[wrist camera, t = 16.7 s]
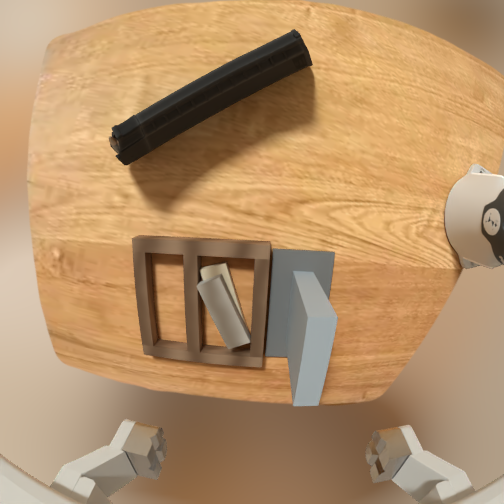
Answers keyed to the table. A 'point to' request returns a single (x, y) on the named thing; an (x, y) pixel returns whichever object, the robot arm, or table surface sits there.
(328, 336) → the sheet
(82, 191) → the table surface
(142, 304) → the rack
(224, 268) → the offcut lower
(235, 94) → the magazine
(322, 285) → the mat
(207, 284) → the offcut upper
